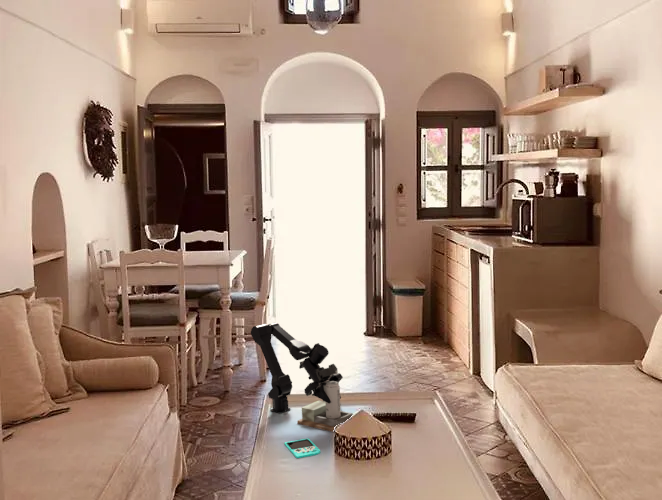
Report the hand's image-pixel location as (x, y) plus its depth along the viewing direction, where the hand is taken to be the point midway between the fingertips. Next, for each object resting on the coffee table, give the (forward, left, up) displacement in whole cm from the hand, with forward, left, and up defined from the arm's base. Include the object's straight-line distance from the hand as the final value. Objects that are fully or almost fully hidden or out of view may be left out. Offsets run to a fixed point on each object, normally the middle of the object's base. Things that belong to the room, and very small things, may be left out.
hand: (335, 400), depth 300 cm
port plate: (-4, 0, -10) cm, 11 cm away
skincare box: (-18, +19, -10) cm, 28 cm away
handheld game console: (+6, -28, -10) cm, 30 cm away
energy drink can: (-1, 0, -8) cm, 8 cm away
